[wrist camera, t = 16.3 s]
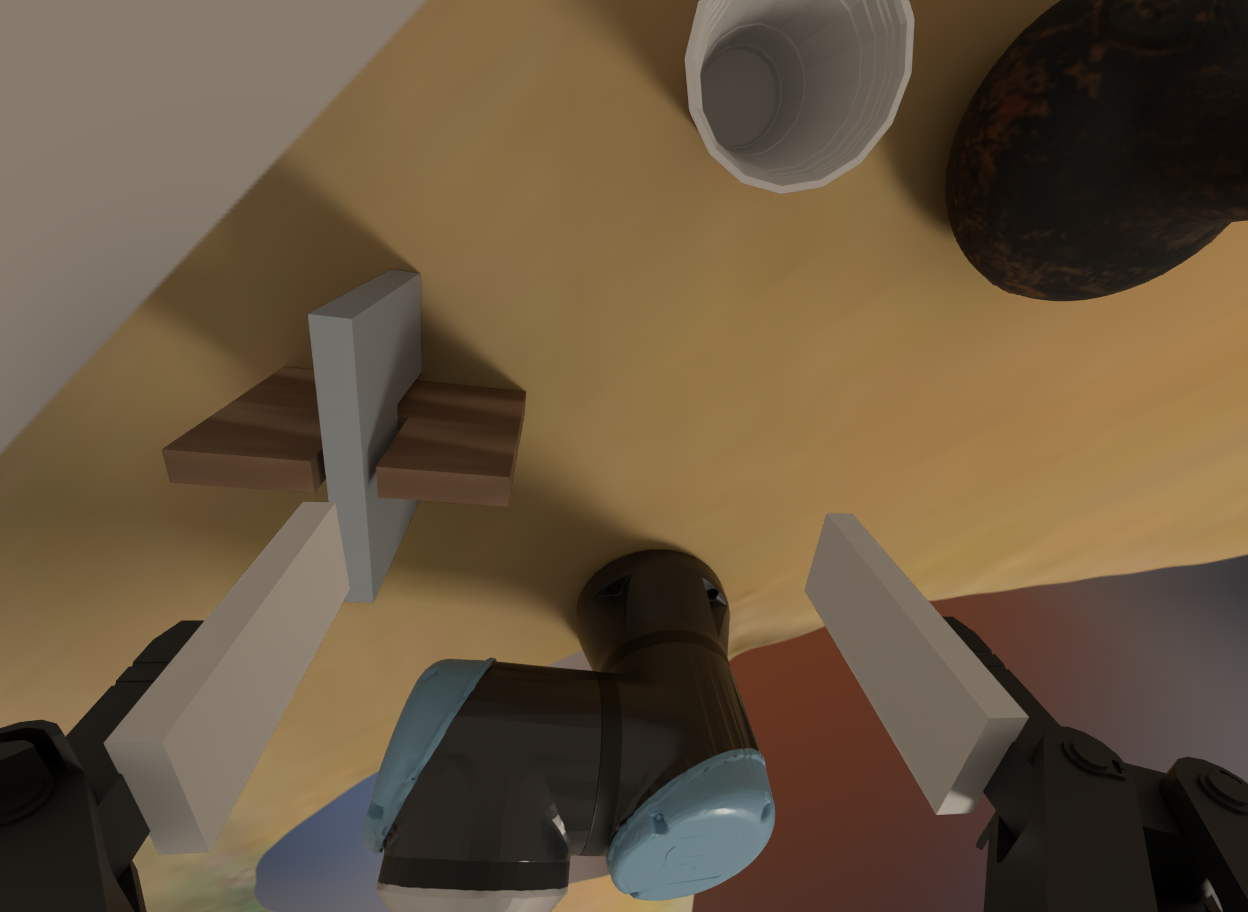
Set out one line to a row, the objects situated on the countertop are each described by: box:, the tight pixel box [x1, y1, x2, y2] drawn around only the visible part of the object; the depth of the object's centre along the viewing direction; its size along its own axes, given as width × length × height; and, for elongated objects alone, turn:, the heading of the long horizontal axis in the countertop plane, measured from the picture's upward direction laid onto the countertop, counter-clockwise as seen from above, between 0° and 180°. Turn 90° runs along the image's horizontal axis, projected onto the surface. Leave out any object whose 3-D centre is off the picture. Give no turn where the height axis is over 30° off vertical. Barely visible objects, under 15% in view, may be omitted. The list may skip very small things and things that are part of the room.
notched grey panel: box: [308, 270, 422, 603], centre depth 37 cm, size 18×2×14 cm, turn 172°
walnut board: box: [162, 367, 526, 507], centre depth 37 cm, size 2×18×14 cm, turn 82°
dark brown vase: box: [946, 0, 1248, 301], centre depth 27 cm, size 18×18×28 cm
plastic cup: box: [685, 0, 915, 194], centre depth 31 cm, size 11×11×12 cm
